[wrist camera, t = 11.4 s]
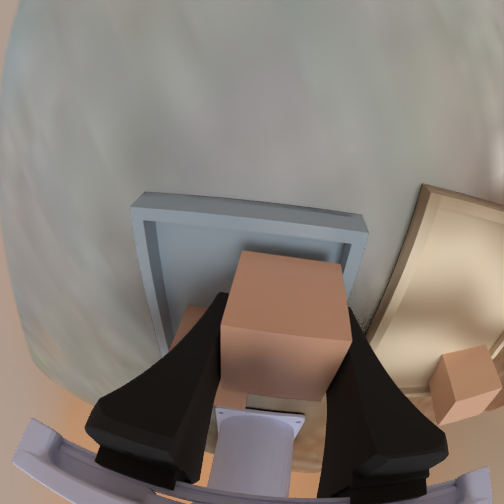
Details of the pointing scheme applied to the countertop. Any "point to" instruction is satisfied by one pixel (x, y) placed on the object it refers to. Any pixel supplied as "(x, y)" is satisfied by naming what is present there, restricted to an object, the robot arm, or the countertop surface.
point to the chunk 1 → (222, 396)
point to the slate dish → (228, 247)
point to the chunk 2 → (284, 327)
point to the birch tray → (442, 288)
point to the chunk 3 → (463, 384)
